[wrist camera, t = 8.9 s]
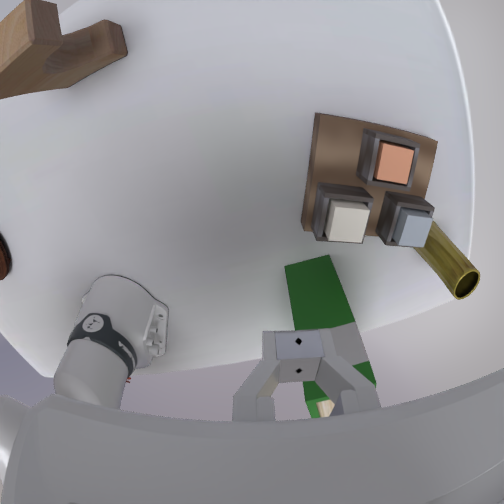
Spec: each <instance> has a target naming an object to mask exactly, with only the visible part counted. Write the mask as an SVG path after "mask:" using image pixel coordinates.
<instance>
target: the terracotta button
mask: <svg viewBox="0 0 504 504" xmlns="http://www.w3.org/2000/svg"><path fill="white" fill-rule="evenodd" d="M413 153H414V150H412V149H409V148H407V147H405V146H403V145H400V144H396V143H391V142H387V141H382V140H380V141H379V147H378V153H377V158H376V164H375V169H374V174H373V176H374V177H375V178H376V179H380V180H386V181H392V182H397V183H403V184H407V181H408V177H409V172H410V168H411V163H412V158H413Z"/></svg>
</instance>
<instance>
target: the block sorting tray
mask: <svg viewBox="0 0 504 504" xmlns="http://www.w3.org/2000/svg"><path fill="white" fill-rule="evenodd" d="M380 140H382V141H387V142H391V143H396V144H400V145H403V146H405V147H407V148H409V149H412V150H414V153H413V158H412V163H411V168H410V172H409V177H408V181H407V184H403V183H397V182H392V181H386V180H380V179H376V178H375V177H374V176H373V174H374V169H375V164H376V158H377V153H378V147H379V141H380ZM437 143H438V141H435V140H433V139H430V138H428V137H425V136H421V135H418V134H415V133H411V132H407V131H404V130H400V129H396V128H392V127H388V126H384V125H380V124H375V123H371V122H366V121H361V120H356V119H351V118H345V117H340V116H334V115H328V114H321V113H315V118H314V127H313V136H312V144H311V153H310V160H309V168H308V176H307V183H306V190H305V197H304V204H303V211H302V217H301V223H302V226H303V229H304V231H311V232H313V233H314V236H315V238H316V241H328V238H327V236H326V234H325V232H324V230H323V229H324V224H325V219H326V214H327V208H328V203H329V198H333V199H343V200H352V201H361V202H363V203H364V204H365V205H366V207H367V208H368V209H369V210H370V212H369V216H368V220H367V224H366V228H365V232H364V235H363V239H362V243H360V244H363V240H364V236H365V235H367V236H379V237H380V238H381V240H382V241H383V242H384V244H385V245H389V246H400V245H398V244H397V243H396V242H395V240H394V239H393V238H392V235H393V232H394V228H395V225H396V222H397V218H398V215H399V211H400V207H407V208H413V209H420V210H424V211H425V212H426V213H428V214H429V215H430V216H431V217H432V215H433V212H434V207H433V206H432V205H431V204H430V203H428V202H427V201H426V200H425V195H426V191H427V188H428V184H429V180H430V176H431V171H432V167H433V163H434V158H435V153H436V149H437ZM329 242H342V241H329ZM345 243H357V242H345ZM403 247H413V246H403ZM416 248H421V247H416Z"/></svg>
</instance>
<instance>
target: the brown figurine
mask: <svg viewBox="0 0 504 504" xmlns="http://www.w3.org/2000/svg"><path fill="white" fill-rule="evenodd" d="M10 261H11V259H10V258H8V257H7V254H6V251H5V248H4V246H3V244H2V242H1V241H0V280H3V279H4V278H5V277H6V276H7V274H8V272H9V263H10Z"/></svg>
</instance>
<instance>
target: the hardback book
mask: <svg viewBox="0 0 504 504" xmlns="http://www.w3.org/2000/svg"><path fill="white" fill-rule="evenodd" d="M285 272H286V278H287V284H288V290H289V296H290V302H291V308H292V314H293V320H294V327H295V331H296V330H309V329H325V328H329V329H330V331H331V335H332V338H333V342H334V346H335V349H336V353H337V356H341V357H342V358H343V359H345V360H346V361H347V362H348V363H349V364H350V365H352V366H353V367H354V368H355V369H356V370H357V371H358V372H360V373H361V374H362V375H363V376H364V377H365V378H367V379H368V380H369V381H370V382H371V383H373V384H374V385H375V388H376V380H375V377H374V374H373V371H372V368H371V365H370V362H369V359H368V356H367V353H366V350H365V347H364V344H363V342H362V339H361V336H360V333H359V330H358V328H357V325H356V322H355V319H354V317H353V314H352V311H351V309H350V306H349V303H348V301H347V298H346V296H345V293H344V291H343V288H342V285H341V283H340V280H339V278H338V275H337V273H336V271H335V268H334V266H333V263H332V261H331V258H330V256H329V255H325V256H321V257H317V258H314V259H310V260H306V261H302V262H299V263H295V264H291V265H287V266H285ZM303 387H304V395H305V402H306V404H307V406H308V410H309V412H310V415H311V418H320V417H329V415H330V413H331V411H332V410H333V408H334V406H335V404H334V403H333V402H332V401H331V400H330V398H329V397H328V396H327V395H326V394H325V393H324V391H323V390H322V389H321V388H320V387H319V386H318V384H317V383H316V382H315V381H303Z"/></svg>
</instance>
